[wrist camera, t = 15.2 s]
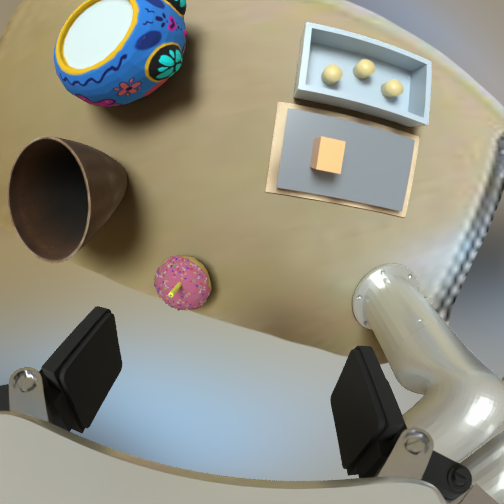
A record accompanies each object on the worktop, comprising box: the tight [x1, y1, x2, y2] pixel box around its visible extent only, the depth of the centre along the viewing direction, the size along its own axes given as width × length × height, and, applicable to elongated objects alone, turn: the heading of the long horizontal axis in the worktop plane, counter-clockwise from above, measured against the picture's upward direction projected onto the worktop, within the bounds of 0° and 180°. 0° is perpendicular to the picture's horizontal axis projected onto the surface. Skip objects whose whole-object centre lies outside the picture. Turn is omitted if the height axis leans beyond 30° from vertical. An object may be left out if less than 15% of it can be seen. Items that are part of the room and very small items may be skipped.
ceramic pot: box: [54, 0, 187, 107], centre depth 26 cm, size 18×18×15 cm
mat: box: [266, 102, 419, 217], centre depth 37 cm, size 22×13×1 cm, turn 83°
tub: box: [293, 22, 431, 127], centre depth 30 cm, size 18×10×6 cm, turn 83°
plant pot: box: [8, 136, 127, 263], centre depth 33 cm, size 15×15×16 cm
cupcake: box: [154, 255, 212, 310], centre depth 39 cm, size 9×8×12 cm
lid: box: [276, 108, 415, 212], centre depth 34 cm, size 19×11×7 cm, turn 82°
